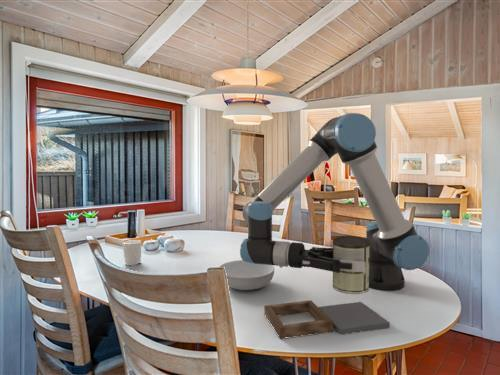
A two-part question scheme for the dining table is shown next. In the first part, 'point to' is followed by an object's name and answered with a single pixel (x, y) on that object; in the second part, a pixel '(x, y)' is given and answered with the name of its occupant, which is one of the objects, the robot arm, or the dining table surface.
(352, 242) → the coffee can
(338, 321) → the rubber mat
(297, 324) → the walnut collar
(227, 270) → the serving bowl
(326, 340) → the dining table surface
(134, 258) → the white cup
